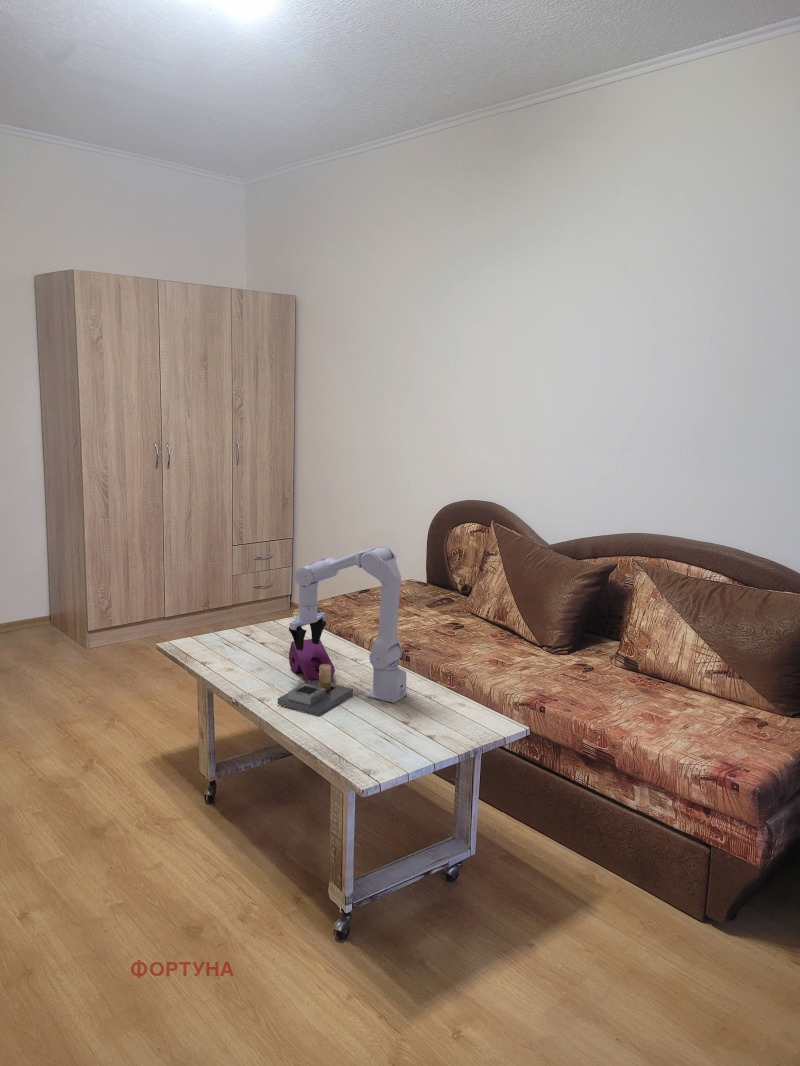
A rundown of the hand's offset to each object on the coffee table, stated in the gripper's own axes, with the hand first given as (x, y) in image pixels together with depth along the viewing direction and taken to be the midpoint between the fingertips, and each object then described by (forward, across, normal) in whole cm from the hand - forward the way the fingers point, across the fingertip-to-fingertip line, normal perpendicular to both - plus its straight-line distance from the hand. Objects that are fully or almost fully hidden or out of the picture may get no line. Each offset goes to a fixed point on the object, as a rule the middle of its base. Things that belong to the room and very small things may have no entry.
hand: (307, 646), depth 248 cm
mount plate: (+10, +12, +14) cm, 21 cm away
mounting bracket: (+10, -2, 0) cm, 11 cm away
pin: (+10, +8, +13) cm, 18 cm away
